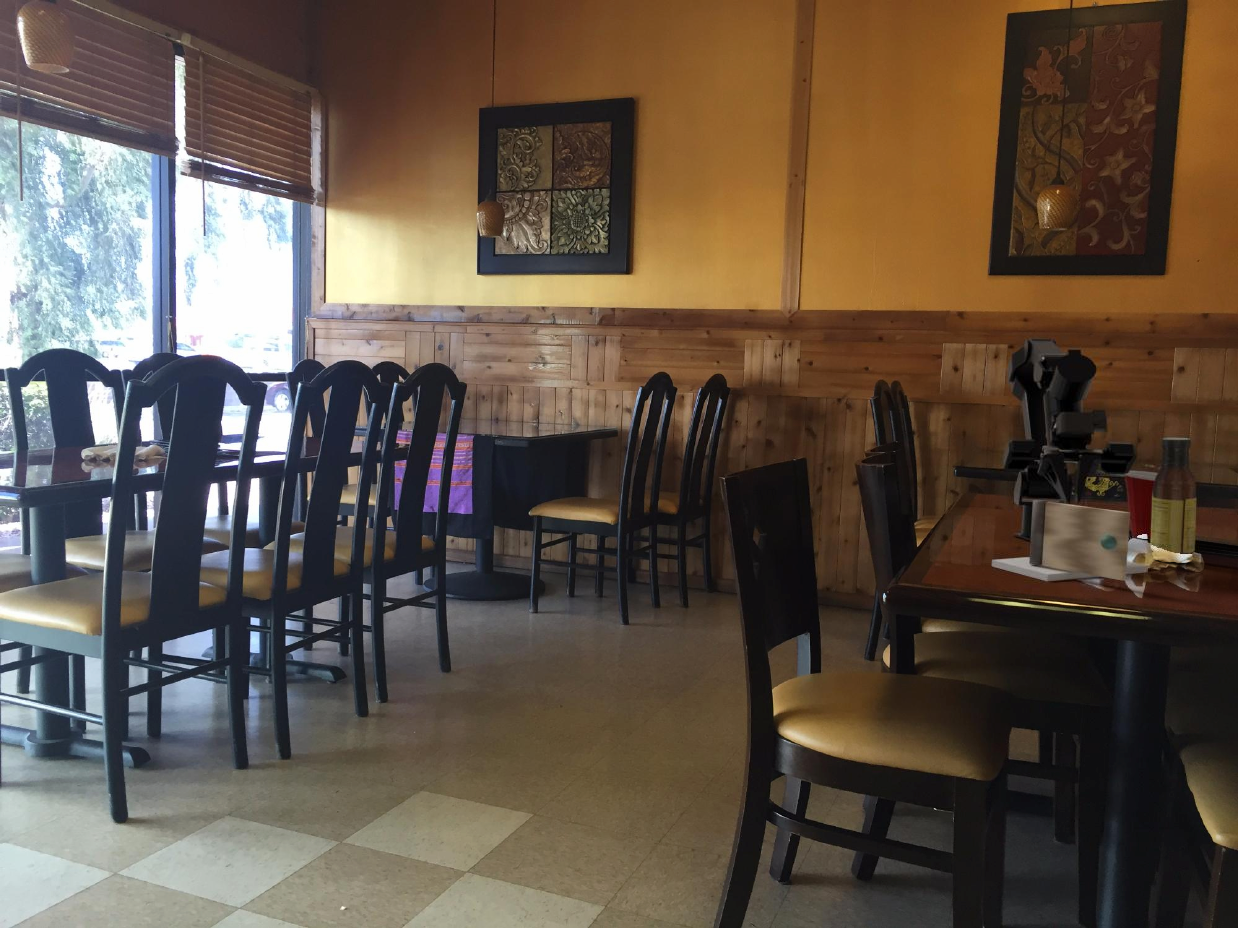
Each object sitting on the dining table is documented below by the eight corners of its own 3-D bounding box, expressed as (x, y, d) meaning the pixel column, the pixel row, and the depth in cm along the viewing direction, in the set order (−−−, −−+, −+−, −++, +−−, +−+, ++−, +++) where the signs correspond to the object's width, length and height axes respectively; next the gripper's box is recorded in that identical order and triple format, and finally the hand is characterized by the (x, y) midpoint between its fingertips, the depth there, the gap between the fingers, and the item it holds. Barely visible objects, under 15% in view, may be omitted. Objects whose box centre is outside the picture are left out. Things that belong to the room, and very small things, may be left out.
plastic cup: (1185, 546, 172) (1190, 478, 171) (1116, 539, 178) (1120, 473, 176) (1185, 537, 181) (1190, 472, 180) (1120, 531, 187) (1124, 468, 186)
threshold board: (1047, 581, 142) (1047, 574, 142) (991, 566, 152) (992, 559, 152) (1147, 572, 149) (1147, 565, 149) (1088, 558, 159) (1088, 552, 159)
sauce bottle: (1182, 557, 161) (1191, 437, 159) (1201, 565, 155) (1210, 440, 153) (1140, 556, 162) (1149, 436, 160) (1157, 564, 156) (1166, 439, 154)
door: (1020, 564, 147) (1024, 501, 146) (1034, 561, 149) (1037, 499, 148) (1114, 582, 136) (1118, 514, 135) (1127, 579, 138) (1132, 512, 137)
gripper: (1011, 389, 155) (1017, 473, 148) (1140, 391, 151) (1153, 478, 144) (1000, 428, 165) (1005, 509, 157) (1121, 431, 161) (1132, 515, 153)
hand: (1072, 502), depth 152 cm, fingers closed
